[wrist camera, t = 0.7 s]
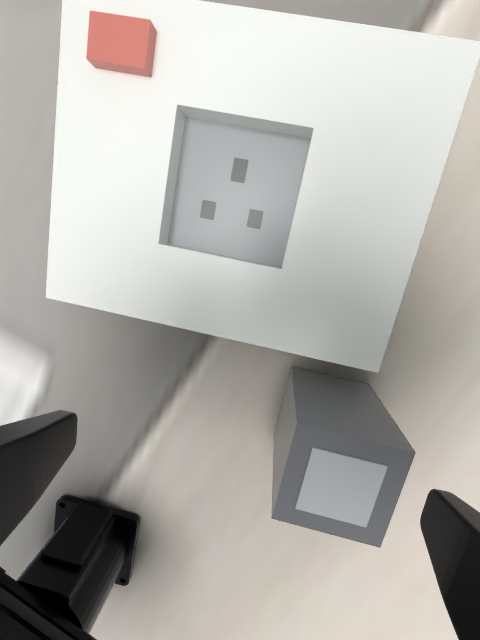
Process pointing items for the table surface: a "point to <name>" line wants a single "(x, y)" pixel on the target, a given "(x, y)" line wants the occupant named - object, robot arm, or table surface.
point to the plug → (337, 458)
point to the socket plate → (248, 169)
